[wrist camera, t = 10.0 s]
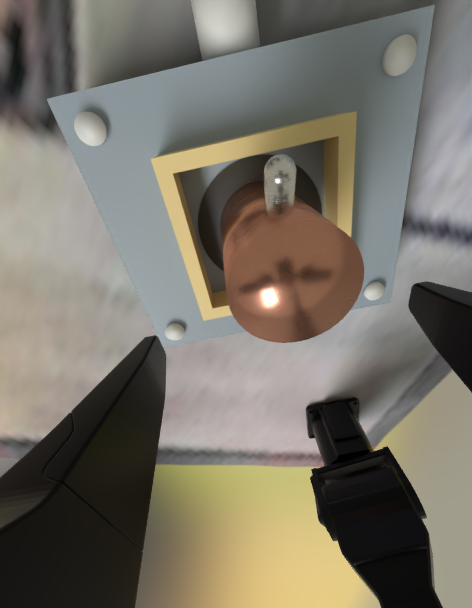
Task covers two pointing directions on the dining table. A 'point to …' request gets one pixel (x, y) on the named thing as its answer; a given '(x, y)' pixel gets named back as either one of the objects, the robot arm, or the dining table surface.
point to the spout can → (286, 260)
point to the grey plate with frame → (250, 151)
